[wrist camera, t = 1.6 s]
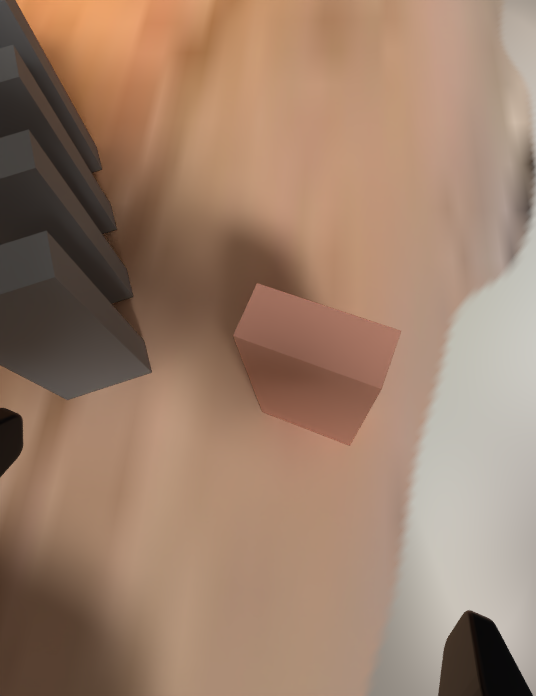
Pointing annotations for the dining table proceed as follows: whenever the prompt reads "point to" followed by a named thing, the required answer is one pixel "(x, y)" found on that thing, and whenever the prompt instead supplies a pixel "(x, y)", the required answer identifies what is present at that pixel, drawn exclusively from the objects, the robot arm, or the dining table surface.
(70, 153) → the domino
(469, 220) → the dining table surface
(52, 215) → the domino
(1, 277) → the domino
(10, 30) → the domino
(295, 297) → the loose domino
